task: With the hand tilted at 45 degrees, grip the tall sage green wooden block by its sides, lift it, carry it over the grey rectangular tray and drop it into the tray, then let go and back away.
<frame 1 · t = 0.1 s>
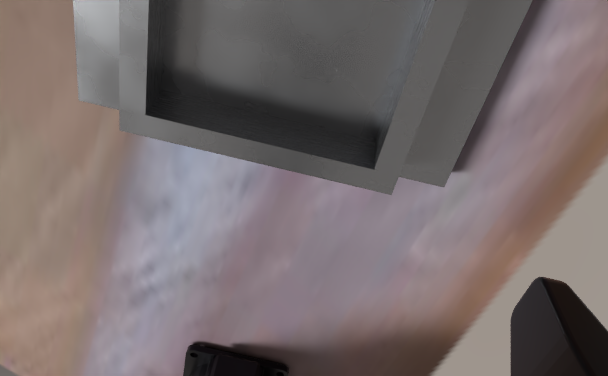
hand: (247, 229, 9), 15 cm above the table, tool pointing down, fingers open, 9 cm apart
grey rectangular tray: (293, 1, 22), on the table
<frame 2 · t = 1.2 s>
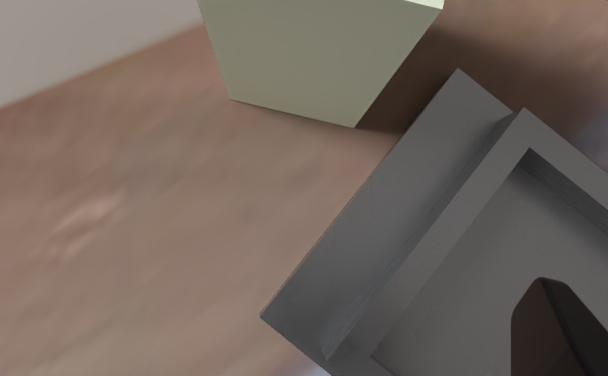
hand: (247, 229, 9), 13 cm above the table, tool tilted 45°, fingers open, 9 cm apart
grey rectangular tray: (517, 320, 22), on the table
sage block: (305, 53, 23), on the table
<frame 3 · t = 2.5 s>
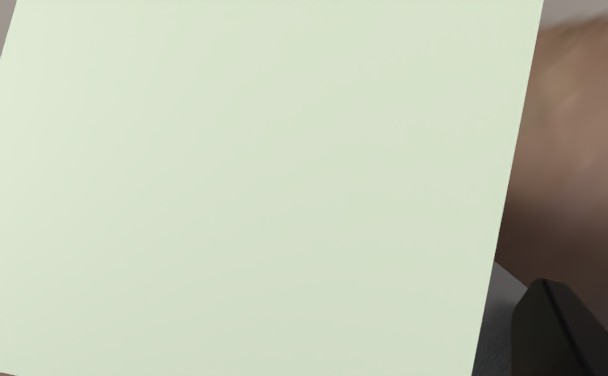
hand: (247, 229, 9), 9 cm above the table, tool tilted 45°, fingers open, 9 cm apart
sage block: (266, 211, 17), on the table
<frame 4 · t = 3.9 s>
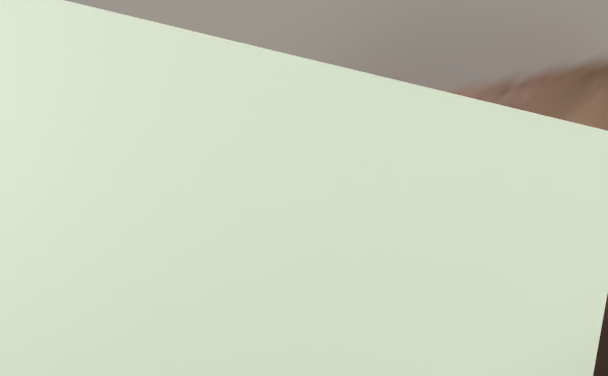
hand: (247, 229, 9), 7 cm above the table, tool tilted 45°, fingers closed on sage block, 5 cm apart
sage block: (246, 282, 15), on the table, touching gripper
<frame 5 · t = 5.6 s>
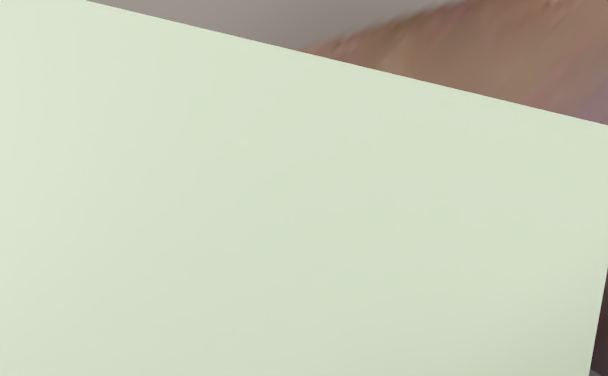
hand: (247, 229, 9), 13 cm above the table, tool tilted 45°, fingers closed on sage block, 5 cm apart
sage block: (246, 281, 15), point 7 cm above the table, touching gripper
when the fingers open (10 cm above the table, at t = 7.6 s): sage block drops 2 cm, resting on grey rectangular tray.
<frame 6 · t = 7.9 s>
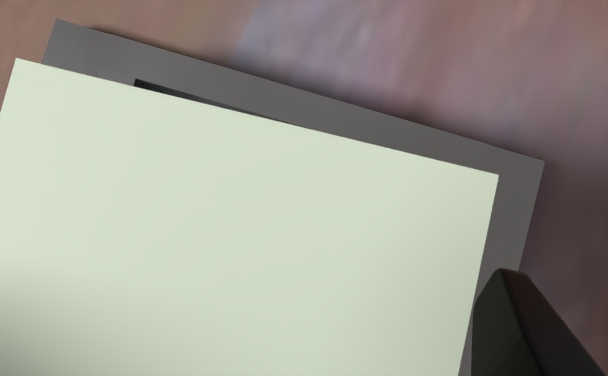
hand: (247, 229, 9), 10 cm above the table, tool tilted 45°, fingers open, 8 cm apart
grey rectangular tray: (251, 273, 19), on the table
sage block: (250, 275, 18), point 1 cm above the table, touching grey rectangular tray
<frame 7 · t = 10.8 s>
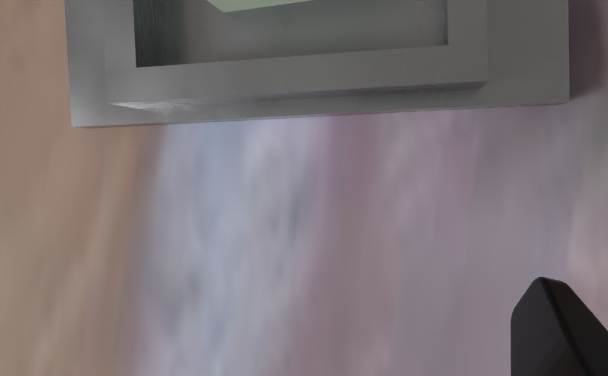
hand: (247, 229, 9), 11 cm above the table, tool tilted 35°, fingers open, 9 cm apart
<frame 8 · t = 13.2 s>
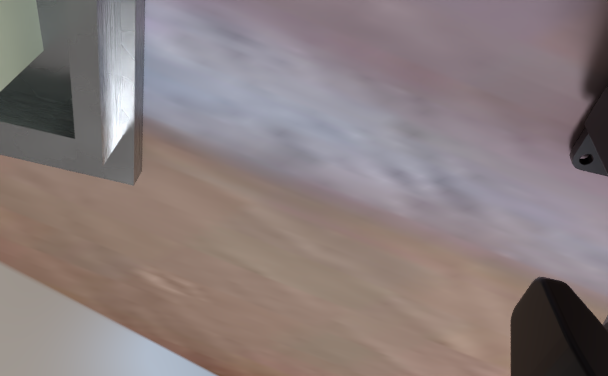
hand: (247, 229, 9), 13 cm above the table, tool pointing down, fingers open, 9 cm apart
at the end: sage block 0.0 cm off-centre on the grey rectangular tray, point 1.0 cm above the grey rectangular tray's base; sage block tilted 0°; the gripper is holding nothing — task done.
